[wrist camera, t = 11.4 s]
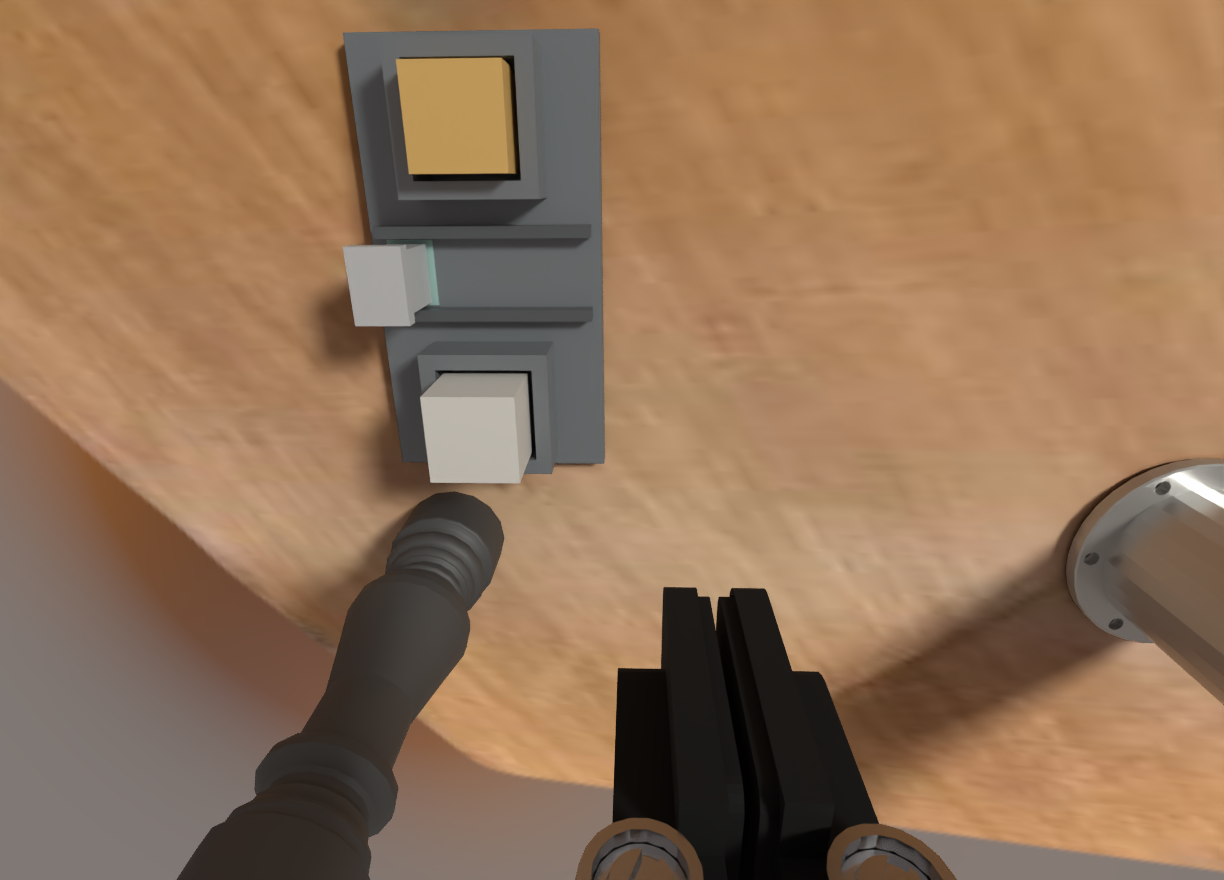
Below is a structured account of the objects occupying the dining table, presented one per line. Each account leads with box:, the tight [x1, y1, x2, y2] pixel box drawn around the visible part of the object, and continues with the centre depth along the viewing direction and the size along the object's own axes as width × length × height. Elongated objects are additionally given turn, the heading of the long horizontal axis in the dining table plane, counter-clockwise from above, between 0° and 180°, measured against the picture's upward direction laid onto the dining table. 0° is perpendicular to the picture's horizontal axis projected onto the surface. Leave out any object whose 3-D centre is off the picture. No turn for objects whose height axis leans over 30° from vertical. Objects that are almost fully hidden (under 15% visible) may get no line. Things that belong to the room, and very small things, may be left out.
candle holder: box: [177, 492, 504, 880], centre depth 30 cm, size 6×6×25 cm
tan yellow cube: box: [396, 58, 521, 175], centre depth 29 cm, size 4×4×4 cm
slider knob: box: [343, 244, 432, 326], centre depth 32 cm, size 3×4×5 cm
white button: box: [420, 373, 532, 483], centre depth 33 cm, size 4×4×4 cm
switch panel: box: [343, 29, 605, 474], centre depth 33 cm, size 12×22×4 cm, turn 0°
